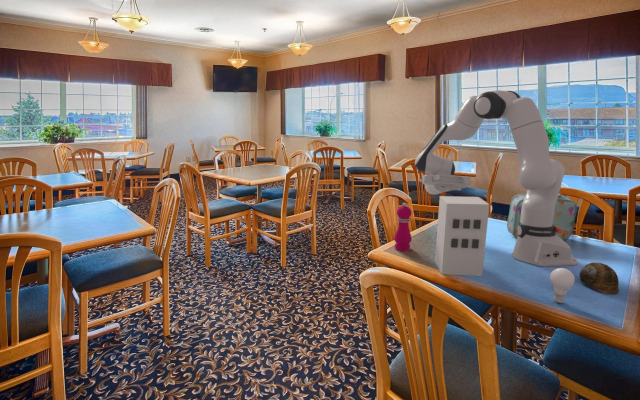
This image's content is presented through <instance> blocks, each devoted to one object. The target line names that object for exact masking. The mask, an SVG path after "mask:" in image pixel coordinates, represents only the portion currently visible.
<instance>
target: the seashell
mask: <svg viewBox="0 0 640 400" xmlns="http://www.w3.org/2000/svg"><path fill="white" fill-rule="evenodd" d="M579 280H580V281H581V282H582V284H583V285H585V286H588V287H589V288H591V289H593V290H595V291H597V292H600V293H601V294H605V295H615V294H617V293H619V291H620V290H619V277H618V275H617V272H616V271H615V270H614V269H613V268H612V267H611V266H609V265H608V264H605V263H602V262H590V263H587V264H586V265H584V266H583V267H582V268H581V270H580V271H579Z"/></svg>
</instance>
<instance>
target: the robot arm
mask: <svg viewBox="0 0 640 400" xmlns="http://www.w3.org/2000/svg"><path fill="white" fill-rule="evenodd" d="M453 118H454V119H452V120H451V121H449V122H448V123H445V124H442V125H441V127H439V129H438V130H437V131H436V132H435V134H434V135H433V136H432V137H431V139H430V140H429V141H428V143H427V144H426V145H425V147H424V148H423V149H422V150H421V151H420V153H419V154H418V155H417V156H416V157H415V159H414V160H415V161H414V166H415V169H416V170H417V172H421V173H424V175H422V179H421V178H420V179H419V182H420V183H422V185H424V189H425V191H426V192H427V193H428V194H431V195H439V194H442V193H446V192H447V193H448V192H451V191H452V192H455V191H462V189H465V188H468V187H469V186H471V177H470V176H461V175H455V172H456V165H455V163H454V161H453V160H451V159H449V158H447V157H443V156H440V155H438V154H435V153H434V152H435V151H436V150H437V149H438V147H439V146H440V145H441V143H443V142H447V141H465V140H469V139H471V138H473V137H474V136H475V134H476V133H477V132H478V131H479V129H480V127H481V125H482V124H483V122H484V120H491V119H492V120H494V119H495V120H500V119H505V120H506V121H507V123H508V126H509V128H510V132H511V136H512V137H513V138H512V139H513V141H514V144H515V148H516V152H517V159H518V160H517V162H518V169H519V171H518V172H519V173H518V176H517V177H518V182H519V184H520V185H521V187H522V188H524V189H525V190H526V193H525V194H526V196H525V198H524V200H523V203H522V210H521V219H520V221H519V225H518V231H517V232H518V234H517V235H518V237H517V238H516V242H515V245H514V248H513V250H512V252H511V257H513V258H514V259H515V260H516V259H517V260H518V261H521V262H524V263H529V264H533V265H536V266H539V267H542V268H543V267H567V266H578V260H577V259H576V258H575V257H574V256H573V255H572V250H571V246H570V245H569V244H568V243H567V242H565V240H564V241H563V240H562V239H561V238H560V237H558V236H557V235H556V232H557V233H559V234H560V233H561V232H562V229H561V228H559V227H556V226H554V225H552V224H553V217H554V210H555V205H556V201H557V198H558V195H559V194H560V191H561V188H562V187H561V186H562V183H563V179H564V177H565V173H566V172H565V171H566V169H565V166H564V165H563V164H562V163H561V162H560V161H558V160H556V159H553V158H551V156H550V147H549V143H550V140H549V136H548V133H547V130H546V127H545V124H544V121H543V119H542V115H541V113H540V111H539V109H538V107H537V105H536V103H535V102H534V100H533V99H532V98H530V97H527V96H523V97H521V95H520V94H519V93H518V92H516V91H513V90H501V89H498V90H491V91H484V92H482V93H480V94H479V95H471V96H470V97H468V98H467V99H466V100H465V102H464V103H463V105H462V106H460V108H459V110H458V112H457V114H456V115H455V117H453Z"/></svg>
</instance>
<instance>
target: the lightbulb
mask: <svg viewBox="0 0 640 400" xmlns="http://www.w3.org/2000/svg"><path fill="white" fill-rule="evenodd" d="M575 280H576V277H575V276H574V274H573V272H572V271H571V270H569V268H568V269H567V268H564V267H558V268H555V269H553V270H552V271H551V273H550V275H549V281H550V283H551V285H552V287H553V292H554V296H553V301H555V303H557V304H563V303H565V297H566V294H568V293H567V292H568V291H569V290H570V289H571V288H572V287H573V286H574V284H575Z"/></svg>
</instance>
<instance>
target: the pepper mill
mask: <svg viewBox="0 0 640 400" xmlns="http://www.w3.org/2000/svg"><path fill="white" fill-rule="evenodd" d="M401 205H402V206H399V207H398V208H397V210H396V215H397V222H398V226H397V230H396V231H395V234H394V237H393V240H394V242H395V244H394V248H395V250H397V251H400V252H402V251H403V252H408V251H410V249H411V245H410V244H411V242H412V235H411V232H410V229H409V223H410V222H411V220H410V219H411V218H410V217H411V216H412V209H411V208H410V207H409V206H407V205H408V204H407V203H406V202H403V203H402V204H401Z"/></svg>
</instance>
